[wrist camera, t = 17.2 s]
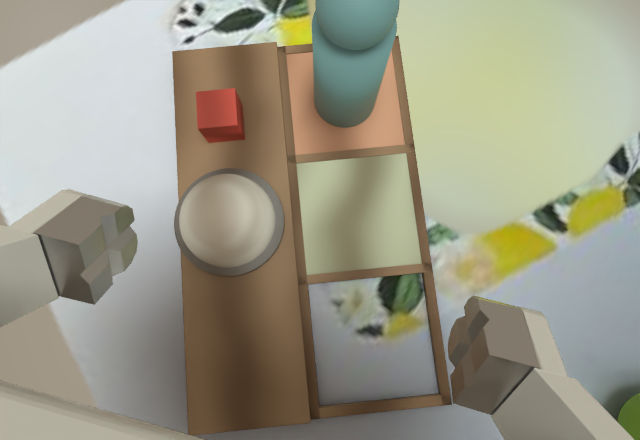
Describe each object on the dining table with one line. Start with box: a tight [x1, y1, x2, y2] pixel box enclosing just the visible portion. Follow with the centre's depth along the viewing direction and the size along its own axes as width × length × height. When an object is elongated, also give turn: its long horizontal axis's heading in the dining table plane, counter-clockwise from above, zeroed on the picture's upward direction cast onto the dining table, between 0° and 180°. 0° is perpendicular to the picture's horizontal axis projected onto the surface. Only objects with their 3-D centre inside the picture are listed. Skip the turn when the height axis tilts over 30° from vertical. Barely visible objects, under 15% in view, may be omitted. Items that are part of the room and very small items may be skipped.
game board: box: [172, 36, 452, 435], centre depth 25 cm, size 16×26×6 cm, turn 6°
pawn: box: [312, 0, 399, 128], centre depth 22 cm, size 4×4×12 cm
